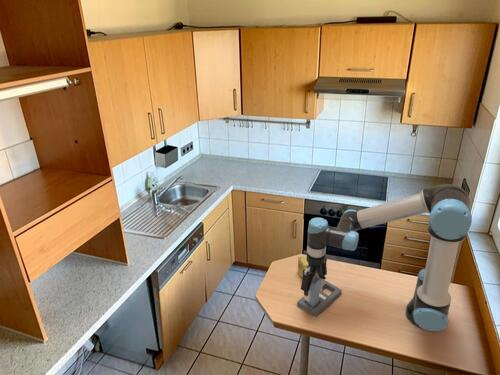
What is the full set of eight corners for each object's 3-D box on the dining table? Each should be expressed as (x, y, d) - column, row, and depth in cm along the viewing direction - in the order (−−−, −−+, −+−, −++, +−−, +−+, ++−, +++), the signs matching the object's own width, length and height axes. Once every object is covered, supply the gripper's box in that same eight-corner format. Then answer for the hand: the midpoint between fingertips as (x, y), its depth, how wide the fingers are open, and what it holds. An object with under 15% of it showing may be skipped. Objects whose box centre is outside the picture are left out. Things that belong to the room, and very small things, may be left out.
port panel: (341, 293, 175) (341, 289, 174) (315, 317, 162) (315, 313, 161) (323, 283, 181) (323, 279, 180) (297, 305, 169) (297, 301, 168)
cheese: (304, 286, 180) (305, 269, 176) (296, 271, 189) (297, 255, 185) (324, 281, 183) (326, 265, 178) (315, 267, 192) (316, 252, 187)
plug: (318, 305, 168) (320, 278, 161) (313, 311, 166) (314, 283, 158) (311, 301, 171) (312, 273, 164) (305, 306, 169) (306, 278, 161)
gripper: (323, 238, 164) (320, 279, 174) (292, 260, 151) (291, 302, 161) (338, 245, 159) (334, 286, 169) (307, 268, 146) (305, 312, 156)
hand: (313, 294), depth 165 cm, fingers open, 8 cm apart
